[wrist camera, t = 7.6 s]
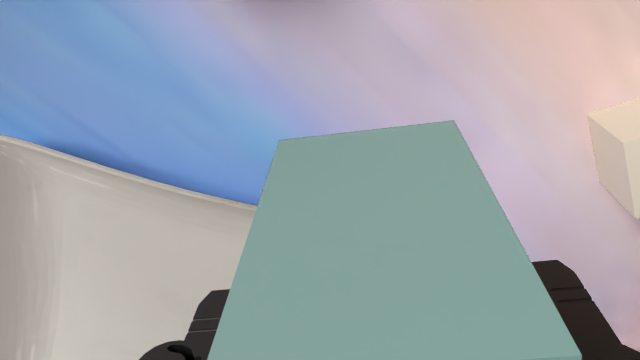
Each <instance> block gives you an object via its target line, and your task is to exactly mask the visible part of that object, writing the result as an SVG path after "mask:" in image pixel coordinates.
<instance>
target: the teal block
mask: <svg viewBox="0 0 640 360" xmlns="http://www.w3.org/2000/svg"><path fill="white" fill-rule="evenodd" d="M207 360H582V355H581V353H580V351H579V349H578V347H577V345H576V344H575V342H574V340H573V338H572V336H571V334H570V333H569V331H568V329H567V327H566V325H565V323H564V321H563V320H562V318H561V316H560V314H559V312H558V310H557V309H556V307H555V305H554V303H553V301H552V299H551V298H550V296H549V294H548V292H547V290H546V288H545V287H544V285H543V283H542V281H541V279H540V277H539V276H538V274H537V272H536V270H535V268H534V266H533V265H532V263H531V261H530V259H529V257H528V255H527V254H526V252H525V250H524V248H523V246H522V244H521V242H520V241H519V239H518V237H517V235H516V233H515V231H514V230H513V228H512V226H511V224H510V222H509V220H508V219H507V217H506V215H505V213H504V211H503V209H502V208H501V206H500V204H499V202H498V200H497V198H496V197H495V195H494V193H493V191H492V189H491V187H490V186H489V184H488V182H487V180H486V178H485V176H484V174H483V173H482V171H481V169H480V167H479V165H478V163H477V162H476V160H475V158H474V156H473V154H472V152H471V151H470V149H469V147H468V145H467V143H466V141H465V140H464V138H463V136H462V134H461V132H460V130H459V129H458V127H457V125H456V123H455V121H454V120H452V121H444V122H435V123H426V124H417V125H408V126H400V127H391V128H382V129H373V130H365V131H356V132H347V133H338V134H330V135H321V136H312V137H303V138H295V139H286V140H279V142H278V145H277V148H276V151H275V154H274V157H273V160H272V163H271V166H270V169H269V173H268V176H267V179H266V182H265V185H264V188H263V191H262V194H261V197H260V200H259V203H258V206H257V209H256V212H255V215H254V218H253V221H252V224H251V227H250V230H249V234H248V237H247V240H246V243H245V246H244V249H243V252H242V255H241V258H240V261H239V264H238V267H237V270H236V273H235V276H234V279H233V282H232V285H231V288H230V291H229V295H228V298H227V301H226V304H225V307H224V310H223V313H222V316H221V319H220V322H219V325H218V328H217V331H216V334H215V337H214V340H213V343H212V346H211V349H210V352H209V355H208V359H207Z"/></svg>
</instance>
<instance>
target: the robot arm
mask: <svg viewBox="0 0 640 360" xmlns="http://www.w3.org/2000/svg"><path fill="white" fill-rule="evenodd" d="M531 263H532V265H533V266H534V268H535V270H536V272H537V274H538V276H539V277H540V279H541V281H542V283H543V285H544V287H545V288H546V290H547V292H548V294H549V296H550V298H551V299H552V301H553V303H554V305H555V307H556V309H557V310H558V312H559V314H560V316H561V318H562V320H563V321H564V323H565V325H566V327H567V329H568V331H569V333H570V334H571V336H572V338H573V340H574V342H575V344H576V345H577V347H578V349H579V351H580V353H581V355H582V360H640V353H639V352H638V351H636V350H634V349H632V348H629V347H627V346H625V345H622V344H621V342H620V341H619V339H618V338H617V336H616V335H615V333H614V332H613V330H612V328H611V327H610V325H609V324H608V322H607V321H606V319H605V318H604V316H603V315H602V313H601V312H600V310H599V309H598V307H597V306H596V304H595V303H594V301H592V299H591V297H590V295H589V293H588V292H587V290H586V289H584V286H583V284H582V283H581V281H580V280H579V278H578V277H577V275H576V274H575V272H574V271H572V270H571V269H570V268H568V267H567V266H565V265H564V264H562V263H561V262H559V261H558V260H550V261H538V262H531ZM229 291H230V289H225V290H213V291H211V292H210V293H209V294H208V295H207V296H206V297H205V298H204V299H203V300H202V301H201V302H200V303H199V305H198V307H197V310H196V312H195V315H194V317H193V321H192V322H191V325H190V327H189V330H188V333H187V334H186V337H185V339H184V341H182V340H178V341H169V342H166V343H163V344H160V345H158V346H155V347H154V348H152V349H151V350H149V351H148V352H146V353H145V354H144V355H143V356H142V357H141V358H140V359H139V360H207V359H208V355H209V352H210V349H211V346H212V343H213V340H214V337H215V334H216V331H217V328H218V325H219V322H220V319H221V316H222V313H223V310H224V307H225V304H226V301H227V298H228V295H229Z"/></svg>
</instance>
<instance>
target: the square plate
mask: <svg viewBox="0 0 640 360" xmlns="http://www.w3.org/2000/svg"><path fill="white" fill-rule="evenodd" d="M256 209H257V206H256V205H251V204H246V203H241V202H237V201H233V200H229V199H224V198H220V197H216V196H211V195H207V194H203V193H199V192H194V191H190V190H186V189H183V188H179V187H175V186H172V185H168V184H164V183H161V182H157V181H154V180H150V179H147V178H143V177H140V176H137V175H133V174H130V173H126V172H123V171H120V170H116V169H113V168H110V167H106V166H103V165H100V164H97V163H94V162H91V161H88V160H84V159H81V158H78V157H75V156H72V155H69V154H66V153H63V152H60V151H57V150H53V149H50V148H47V147H44V146H41V145H38V144H35V143H31V142H28V141H24V140H21V139H17V138H14V137H10V136H6V135H0V360H139V359H140V358H141V357H142V356H143V355H144V354H145V353H146V352H148V351H149V350H151V349H152V348H154V347H155V346H158V345H160V344H163V343H166V342H169V341H178V340H182V341H184V339H185V337H186V334H187V333H188V330H189V327H190V325H191V322H192V321H193V317H194V315H195V312H196V310H197V307H198V305H199V303H200V302H201V301H202V300H203V299H204V298H205V297H206V296H207V295H208V294H209V293H210V292H211V291H213V290H225V289H230V288H231V285H232V282H233V279H234V276H235V273H236V270H237V267H238V264H239V261H240V258H241V255H242V252H243V249H244V246H245V243H246V240H247V237H248V234H249V230H250V227H251V224H252V221H253V218H254V215H255V212H256Z"/></svg>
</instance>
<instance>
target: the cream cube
mask: <svg viewBox="0 0 640 360" xmlns="http://www.w3.org/2000/svg"><path fill="white" fill-rule="evenodd" d="M587 119H588V124H589V129H590V135H591V140H592V145H593V150H594V156H595V161H596V166H597V171H598V177H599V182H600V183H601V184H602V185H603V186H604V187H605V188H606V189H607V190H608V191H609V192H610V193H611V194H612V195H613V196H614V197H615V199H616V200H617V201H618V202H619V203H620V204H621V205H622V206H623V207H624V208H625V209H626V210H627V211H628V212H629V213H630V214H631V215H632V216H633V217H634V218H635V219H637V218H640V97H639V98H636V99H633V100H630V101H627V102H624V103H620V104H617V105H614V106H611V107H608V108H605V109H602V110H599V111H596V112H592V113H589V114H587Z"/></svg>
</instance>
